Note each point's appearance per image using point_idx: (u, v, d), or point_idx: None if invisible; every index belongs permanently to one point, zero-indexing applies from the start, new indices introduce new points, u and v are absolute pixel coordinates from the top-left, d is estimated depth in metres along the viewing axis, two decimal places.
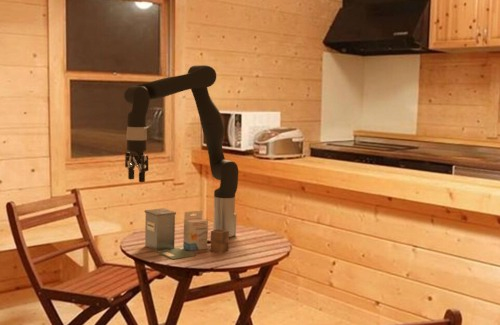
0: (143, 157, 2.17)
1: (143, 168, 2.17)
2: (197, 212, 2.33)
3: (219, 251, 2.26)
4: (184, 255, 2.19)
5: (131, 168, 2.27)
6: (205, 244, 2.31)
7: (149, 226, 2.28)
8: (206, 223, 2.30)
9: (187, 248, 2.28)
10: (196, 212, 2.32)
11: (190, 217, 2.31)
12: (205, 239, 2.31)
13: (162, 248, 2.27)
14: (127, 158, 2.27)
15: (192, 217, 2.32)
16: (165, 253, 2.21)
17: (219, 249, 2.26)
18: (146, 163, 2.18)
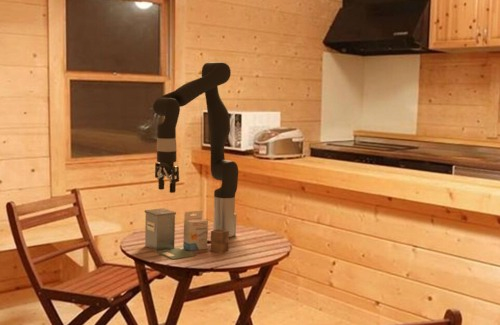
0: (174, 168, 2.20)
1: (174, 179, 2.20)
2: (197, 212, 2.33)
3: (219, 251, 2.26)
4: (184, 255, 2.19)
5: (161, 178, 2.29)
6: (205, 244, 2.31)
7: (149, 226, 2.28)
8: (206, 223, 2.30)
9: (187, 248, 2.28)
10: (196, 212, 2.32)
11: (190, 217, 2.31)
12: (205, 239, 2.31)
13: (162, 248, 2.27)
14: (157, 169, 2.30)
15: (192, 217, 2.32)
16: (165, 253, 2.21)
17: (219, 249, 2.26)
18: (177, 174, 2.21)
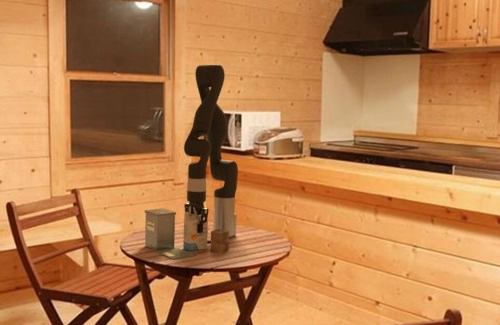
0: (204, 211, 2.24)
1: (202, 220, 2.25)
2: None
3: (219, 251, 2.26)
4: (184, 255, 2.19)
5: None
6: (205, 244, 2.31)
7: (149, 226, 2.28)
8: (206, 223, 2.30)
9: (187, 248, 2.28)
10: None
11: (190, 217, 2.31)
12: (205, 239, 2.31)
13: (162, 248, 2.27)
14: (187, 209, 2.33)
15: (192, 217, 2.32)
16: (165, 253, 2.21)
17: (219, 249, 2.26)
18: (206, 216, 2.25)
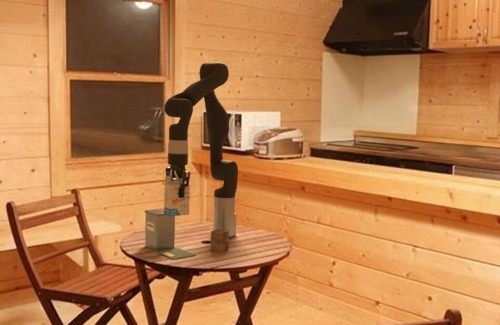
0: (185, 174, 2.13)
1: (183, 184, 2.14)
2: None
3: (219, 251, 2.26)
4: (184, 255, 2.19)
5: None
6: (187, 210, 2.20)
7: (149, 226, 2.28)
8: (188, 188, 2.19)
9: (168, 213, 2.17)
10: None
11: None
12: (187, 204, 2.20)
13: (162, 248, 2.27)
14: (168, 173, 2.22)
15: (173, 181, 2.21)
16: (165, 253, 2.21)
17: (219, 249, 2.26)
18: (187, 179, 2.14)
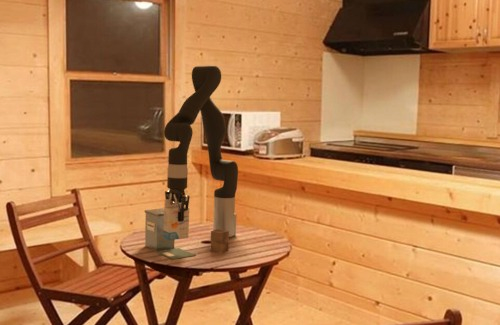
0: (185, 198, 2.14)
1: (183, 208, 2.15)
2: None
3: (219, 251, 2.26)
4: (184, 255, 2.19)
5: None
6: (186, 233, 2.21)
7: (149, 226, 2.28)
8: (187, 211, 2.20)
9: (167, 237, 2.18)
10: None
11: (171, 205, 2.21)
12: (186, 228, 2.21)
13: (162, 248, 2.27)
14: (167, 197, 2.23)
15: (173, 205, 2.22)
16: (165, 253, 2.21)
17: (219, 249, 2.26)
18: (186, 203, 2.15)
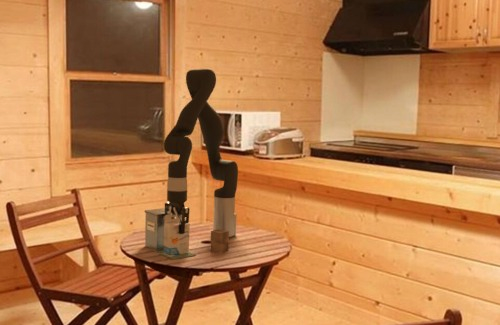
0: (184, 210, 2.14)
1: (184, 220, 2.15)
2: None
3: (219, 251, 2.26)
4: (184, 255, 2.19)
5: None
6: (186, 248, 2.22)
7: (149, 226, 2.28)
8: (188, 226, 2.21)
9: (167, 252, 2.18)
10: None
11: (171, 220, 2.22)
12: (186, 243, 2.21)
13: (162, 248, 2.27)
14: (167, 208, 2.24)
15: (173, 220, 2.22)
16: (165, 253, 2.21)
17: (219, 249, 2.26)
18: (187, 216, 2.15)
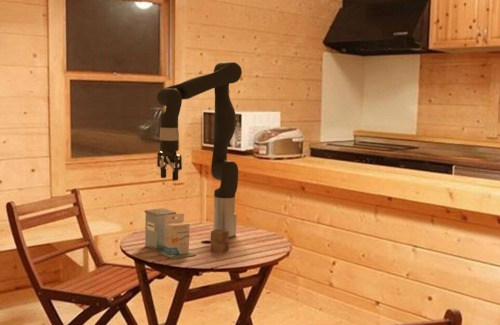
0: (177, 156, 2.26)
1: (177, 167, 2.27)
2: (178, 215, 2.23)
3: (219, 251, 2.26)
4: (184, 255, 2.19)
5: (163, 167, 2.36)
6: (186, 248, 2.22)
7: (149, 226, 2.28)
8: (188, 226, 2.21)
9: (167, 252, 2.18)
10: (177, 215, 2.23)
11: (171, 220, 2.22)
12: (186, 243, 2.21)
13: (162, 248, 2.27)
14: (159, 157, 2.36)
15: (173, 220, 2.22)
16: (165, 253, 2.21)
17: (219, 249, 2.26)
18: (180, 162, 2.27)
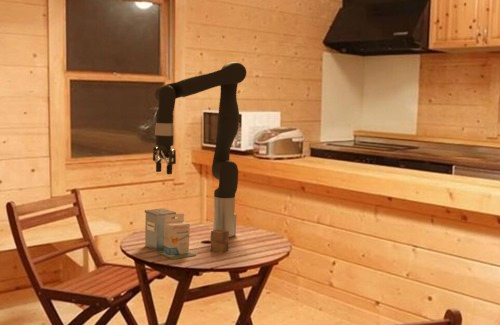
0: (171, 151, 2.35)
1: (171, 161, 2.35)
2: (178, 215, 2.23)
3: (219, 251, 2.26)
4: (184, 255, 2.19)
5: (158, 161, 2.44)
6: (186, 248, 2.22)
7: (149, 226, 2.28)
8: (188, 226, 2.21)
9: (167, 252, 2.18)
10: (177, 215, 2.23)
11: (171, 220, 2.22)
12: (186, 243, 2.21)
13: (162, 248, 2.27)
14: (155, 152, 2.45)
15: (173, 220, 2.22)
16: (165, 253, 2.21)
17: (219, 249, 2.26)
18: (174, 156, 2.36)
